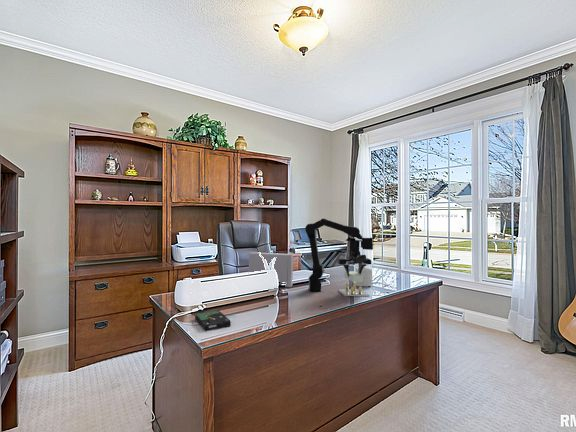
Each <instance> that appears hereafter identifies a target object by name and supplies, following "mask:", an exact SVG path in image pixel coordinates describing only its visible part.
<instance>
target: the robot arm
mask: <svg viewBox="0 0 576 432" xmlns="http://www.w3.org/2000/svg"><path fill="white" fill-rule="evenodd" d="M324 226H325V227H327V228H328V227H329V228H330V229H334V230H337V231H340V232H343V233H344V234H346V235H348V237H347V238H346V239H345V241H346V242H349V244H348V259H347V258H344V257H338V258H337V259H336V263H337V264H338V265H342V266H343V268H344V270H345V271H346V273H347V276H348V277H349V271H350V269H349V267H350V265H349V264H354V265H358V273H359V274H361V272H362V270H363V268H364V267H368V266H367V265H372V260H371V259H370V258H367V255H366V254H361V250H360V248H361V249H362V250H369V251H370V250H371V251H373V250H374V242H373V241H374V240H373V237H363V235H362V234H361V233H360V229H359V228H358V227H357V226H351V225H344V224H341V223H339V222H335V221H332V220H330V219H329V220H328V219H327V218H321V219H320V220H318V221H316V222H313V223H307V224H306V226H305V227H304V228H305V233H306V235H307V237H308V239H309V246H310V252H311V258H312V273H311V275H310V276H308V292H311V293H313V292H314V293H315V292H316V293H317V292H318V293H319V292H322V282H321V280H320V279H321V278H322V277H323V275H324V273H325V267H324V264H323V263H321V261H320V260H321V259H320V254H319V247H318V242H317V229H320V228H322V227H324Z"/></svg>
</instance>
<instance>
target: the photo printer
mask: <svg viewBox="0 0 576 432" xmlns="http://www.w3.org/2000/svg"><path fill="white" fill-rule="evenodd" d="M355 272H357V273H358V267H356V270H355ZM361 275H363V282H355V283H356V287H359V286H361V287H368V286H373V270H372V267H369V266H365V267H364V268H363V270H362V272H361Z"/></svg>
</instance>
